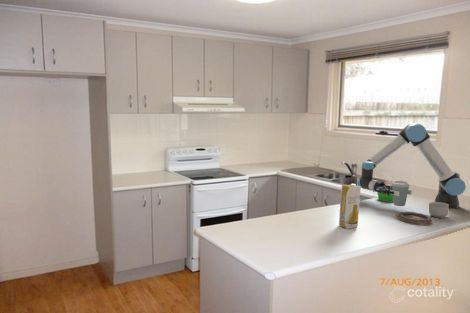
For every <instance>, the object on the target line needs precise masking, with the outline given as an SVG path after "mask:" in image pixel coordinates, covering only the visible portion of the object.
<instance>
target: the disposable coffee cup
mask: <svg viewBox="0 0 470 313" xmlns="http://www.w3.org/2000/svg"><path fill="white" fill-rule="evenodd" d="M390 186H392V190H393V191H397V192H399V196H395V195H393V201H392V202H393V205H394V206H395V207H396V206H397V207H405V206H406V204H407V203H406V202H407V198H408V195H409V194H408V190H410V189H409V188H410V186H411V185H410V183H409V182H408V181H404V180H403V181H402V180H395V181H392V182H391V185H390Z"/></svg>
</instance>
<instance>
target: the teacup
mask: <svg viewBox="0 0 470 313" xmlns="http://www.w3.org/2000/svg"><path fill="white" fill-rule="evenodd" d="M449 210H450V209H449V205H448V204H446V203H441V202H434V201H431V202H429V203H428V213H429V214H430V215H431V216H432V217H433V218H436V219H437V218H439V219H443V218H445V217H447V216H448V214H449Z"/></svg>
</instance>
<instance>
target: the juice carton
mask: <svg viewBox="0 0 470 313" xmlns="http://www.w3.org/2000/svg"><path fill="white" fill-rule="evenodd" d="M361 189H362V188H361V187H360V186H358V184H356V183H351V184H345V185H344V184H343V185H341V190H340V191H341V192H340V203H339V204H340V205H339V217H338V226H340V227H342V228H344V229H346V230H347V229H355V228H358V226H359V225H358V224H359V213H360V212H359V211H360V201H361Z"/></svg>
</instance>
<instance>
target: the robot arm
mask: <svg viewBox="0 0 470 313" xmlns="http://www.w3.org/2000/svg"><path fill="white" fill-rule="evenodd" d="M406 144H411V146H413V147H414V148H417V149H418V150H419V151H420V153H421V155H422V156H423V157H424V158H425V160H426V161H427V163H428V164H429V166H430V167H431V168H432V170H433V171H434V173H435V174H436V175H437V177H438V180H437V181H438V189H437V190H438V192H437V195H436V197H435V198H434V201H433V202H441V203H446V204H448V205H449V207H452V208H451V209H455V208H456V207H458V208H459V207H460V201H459V197H458V196H460V195H462V194H463V193H464V192H465V191H466V188H467V186H466V183H465V181H464V180H463V179H462V178H461V176H460V173H458V172H457V171H456V170H452V169H451V168H450V166H449V165H448V163H447V162H446V161H445V160H444V158H443V156H442V155H441V154H440V152H439V151H438V150H437V149H436V148H437V147H435V146H434V144H433V143H432V141H431V136H430V134H429V133H428V132H427V129H426V127H425V126H424V125H422V124H421V123H417V122H416V123H415V122H412V123H409V124H407V125H406V126H404V128H403V129H402V130H401V131H400V132H398V133H397V136H396V137H395V138H393V139H392V140H391V141H389V143H387V144H386V145H384V146H383V147H382V148H381V149H379V150H378V151H377V152H376V153H375V154H373V155H371V157H370V158H369V159H366V161H362V164H361V176H360V177H359V178H358V180H357V184H356V185H357V186H360V187H361V189H363V190H368V191H371V192H373V193H375V192H376V193H384V194H386V193H387V195H389V194H391V195H395V196H399V192H397V191H393V190H392V185H386V183H385V182H383V181H380V180H375V179H373V178H374V177H373V176H374V169H375V168H377V167H378V166H379V165H380V164H382V163H383V162H384V161H385V160H387V159H388V158H389V157H391V156H392V155H393V154H395V152H397V151H399V149H401V148H402V147H404V146H405V145H406ZM412 193H413V189H412V190H411V189H408V194H407V195H410V196H411V195H413V194H412Z"/></svg>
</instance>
